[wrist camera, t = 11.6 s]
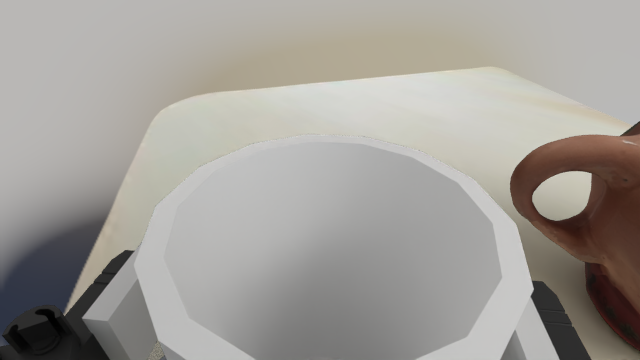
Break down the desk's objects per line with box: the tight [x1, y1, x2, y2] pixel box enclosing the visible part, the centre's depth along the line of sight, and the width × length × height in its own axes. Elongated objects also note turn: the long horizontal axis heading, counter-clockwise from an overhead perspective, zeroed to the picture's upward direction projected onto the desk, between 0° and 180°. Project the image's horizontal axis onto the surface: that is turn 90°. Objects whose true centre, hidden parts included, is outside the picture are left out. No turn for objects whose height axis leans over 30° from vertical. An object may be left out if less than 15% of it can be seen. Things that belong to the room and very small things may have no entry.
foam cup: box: [134, 134, 534, 360], centre depth 13 cm, size 10×9×13 cm
